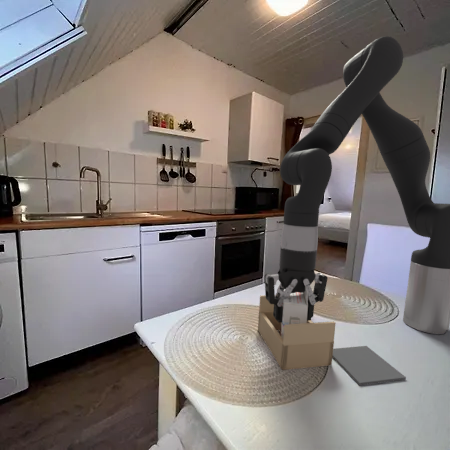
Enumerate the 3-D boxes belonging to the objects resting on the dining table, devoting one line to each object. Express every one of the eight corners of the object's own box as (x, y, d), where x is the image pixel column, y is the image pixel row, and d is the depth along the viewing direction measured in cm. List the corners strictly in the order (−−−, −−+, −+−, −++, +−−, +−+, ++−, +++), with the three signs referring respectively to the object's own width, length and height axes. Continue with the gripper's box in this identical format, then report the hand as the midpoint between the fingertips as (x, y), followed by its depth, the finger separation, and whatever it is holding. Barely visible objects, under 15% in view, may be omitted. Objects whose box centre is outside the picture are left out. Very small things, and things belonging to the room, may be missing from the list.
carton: (297, 327, 65) (299, 293, 64) (331, 365, 50) (335, 322, 49) (257, 330, 62) (260, 295, 61) (282, 370, 48) (285, 326, 47)
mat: (366, 347, 57) (366, 345, 57) (405, 379, 47) (406, 377, 47) (326, 351, 55) (326, 349, 55) (359, 385, 45) (359, 382, 45)
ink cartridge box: (279, 334, 61) (283, 275, 59) (300, 337, 60) (305, 277, 58) (279, 355, 53) (284, 288, 51) (304, 359, 52) (310, 291, 50)
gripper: (319, 242, 59) (313, 310, 61) (260, 242, 56) (256, 313, 58) (339, 249, 51) (332, 326, 53) (273, 249, 49) (268, 331, 51)
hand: (292, 319), depth 56 cm, fingers closed on ink cartridge box, 6 cm apart
